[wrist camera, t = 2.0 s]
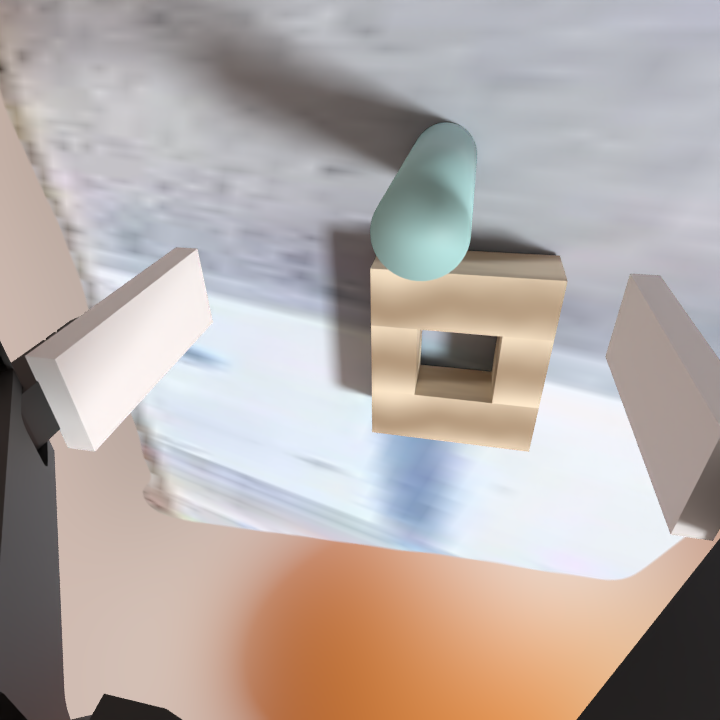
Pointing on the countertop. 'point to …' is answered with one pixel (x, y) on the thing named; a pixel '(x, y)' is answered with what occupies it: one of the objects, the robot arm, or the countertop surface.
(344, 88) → the countertop surface
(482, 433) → the socket block
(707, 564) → the robot arm
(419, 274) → the dowel
